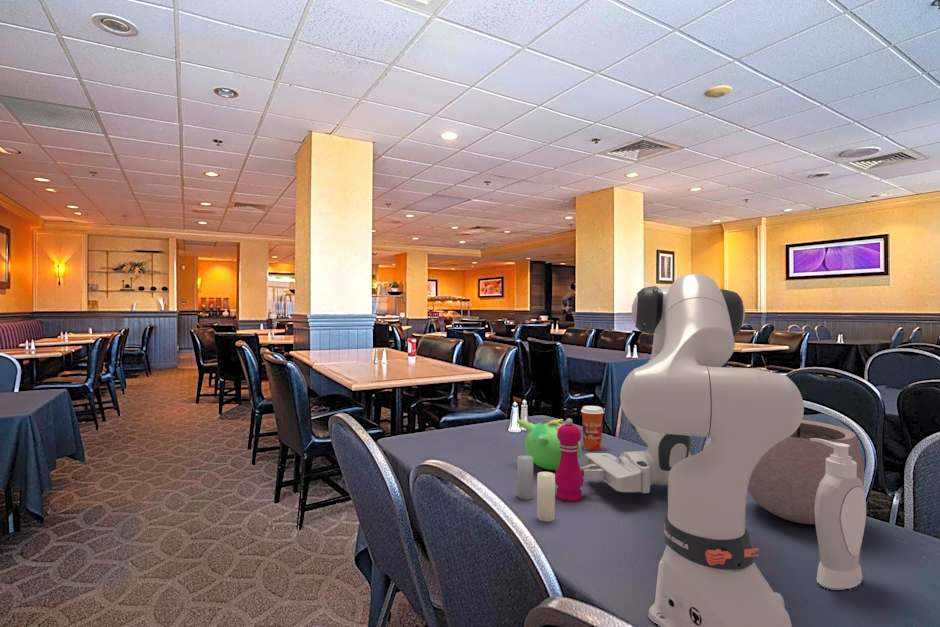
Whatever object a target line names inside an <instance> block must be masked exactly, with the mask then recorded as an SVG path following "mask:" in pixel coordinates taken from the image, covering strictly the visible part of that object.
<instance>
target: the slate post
mask: <svg viewBox="0 0 940 627" xmlns="http://www.w3.org/2000/svg"><path fill="white" fill-rule="evenodd" d="M516 459H517V460H516V461H517V464H516V465H517V468H516V469H517V472H516V473H517V475H516V476H517V477H516V478H517V479H516V480H517V481H516V482H517V483H516V484H517V485H516V487H517V490H516V491H517V492H516V496H517V498H518V499H519V498H520V500H523V499H524V501H529V500H528V499H530V500H532V499H533V498H534V462H533V457H532V456H528V454H526V455H518V456H517V458H516Z"/></svg>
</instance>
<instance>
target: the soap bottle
mask: <svg viewBox="0 0 940 627" xmlns="http://www.w3.org/2000/svg"><path fill="white" fill-rule="evenodd" d="M810 441H816V442H820V443H823V444H825V445H827V446H829V447H832V448H833V449H834V453H833V454H830V457H827V458H826V467H825V472H826V473H825V476H824V477H823V479H822V480H821V482H820V483H819V487H818V489H817V493H816V498H815V523H816V524H815V530H816V536H817V537H816V540H817V545H818V551H819V559H820V560H819V563H818V566H817V573H816V579H815V581H816V580H817V581H816V583H817V582H818V583H819V584H821V585H822V586H826V587H829V588H851V587H855V586H857V585H858V584H860V583H861V584H862V581H863V573H862V566H861V563H859V562H860V555H861V547H862V543H863V537H864V534H865V533H864V532H865V526H866V520H867V501H866V495H865V491H864V485H862V481H861V480H860V479H859V478H857V463H856V462H854V461H852V457H851V456H848V448H849V447H850V445H848V444H844V443H834V442H830V441H827V440H824V439H817V438H810ZM861 580H862V581H861ZM818 583H817V584H818ZM861 584H860V585H861Z"/></svg>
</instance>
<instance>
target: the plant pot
mask: <svg viewBox="0 0 940 627" xmlns="http://www.w3.org/2000/svg"><path fill="white" fill-rule="evenodd" d="M807 389H808V387H805V388H804V389H803V390H802V391H801V392H800V394H801V396H802V397H803V395H804V394H805V393H806V391H807ZM810 438H817V439H824V440H827V441H830V442H834V443H844V444H848V445H850V447H849V448H848V456H851V457H852V461H854V462H856V463H857V478H859V479H860V480H861V481H862V485H863V486H864V483H865V466H864V460H863V455H862V452H861V448H860V444H859V442H858V438H857V435H856V434H855V432H854V431H852V430H850V429H847V428H844V427H841V426H838V425H834V424H831V423H825V422H820V421H814V420H808V419H802V422H801V424H800V426H799V427H798V429H797V430H796V431H795V432H794V433H793V434H792V435H791V436H790V437H789V438H787V439H785V440H783V441H781V442H779V443H778V444H776V445H775V446H774V447H772V448H771V449H770V450H769V451H768V452H767V453H766V454H765V455H764V456H763V457H762V458H761V459H760V461H759V462H758V464H757V465H756V467H755V469H754V471H753V473H752V475H751V477H750V481H749V485H748V491H747V493H749V495H750V496H751V498H753V500H754V501H755V502H756V503H757V505H759V506H761V507H762V508H763V509H764V510H766V511H768V512H769V513H770V514H772V515H774V516H776V517H778V518H780V519H783V520H786V521H790V522H793V523H798V524H803V525H816V523H815V498H816V493H817V489H818V487H819V483H820V482H821V480H822V479H823V477H824V476H825V473H826V472H825V467H826V458H827V457H830V454H833V453H834V449H833V448H832V447H829V446H827V445H825V444H823V443H820V442H816V441H810Z"/></svg>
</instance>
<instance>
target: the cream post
mask: <svg viewBox="0 0 940 627" xmlns="http://www.w3.org/2000/svg"><path fill="white" fill-rule="evenodd" d="M536 475H537V476H536V477H537V478H536V480H537V481H536V483H537V487H536V493H537V494H536V495H537V496H536V501H537V502H536V508H537V509H536V518H538V519H537V520H539V521H541V522H544V523H545V522H546V523H548V522H550V523H551V522H553V521H555V519H556V513H555V511H556V483H555V473H554V472H551V471H539V472H537V474H536Z"/></svg>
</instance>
